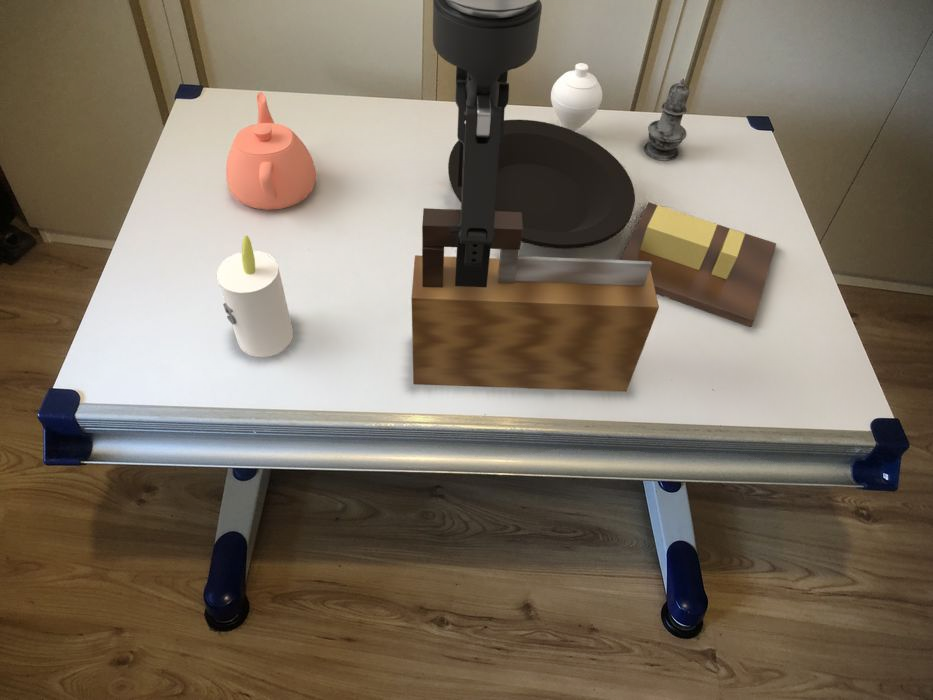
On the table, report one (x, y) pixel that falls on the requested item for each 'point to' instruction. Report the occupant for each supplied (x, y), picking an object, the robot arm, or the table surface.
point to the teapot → (269, 164)
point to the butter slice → (728, 254)
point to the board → (709, 274)
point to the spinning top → (576, 97)
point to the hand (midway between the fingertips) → (471, 231)
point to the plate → (558, 185)
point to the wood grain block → (528, 332)
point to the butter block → (678, 237)
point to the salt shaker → (669, 125)
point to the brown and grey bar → (520, 266)
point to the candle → (255, 301)
